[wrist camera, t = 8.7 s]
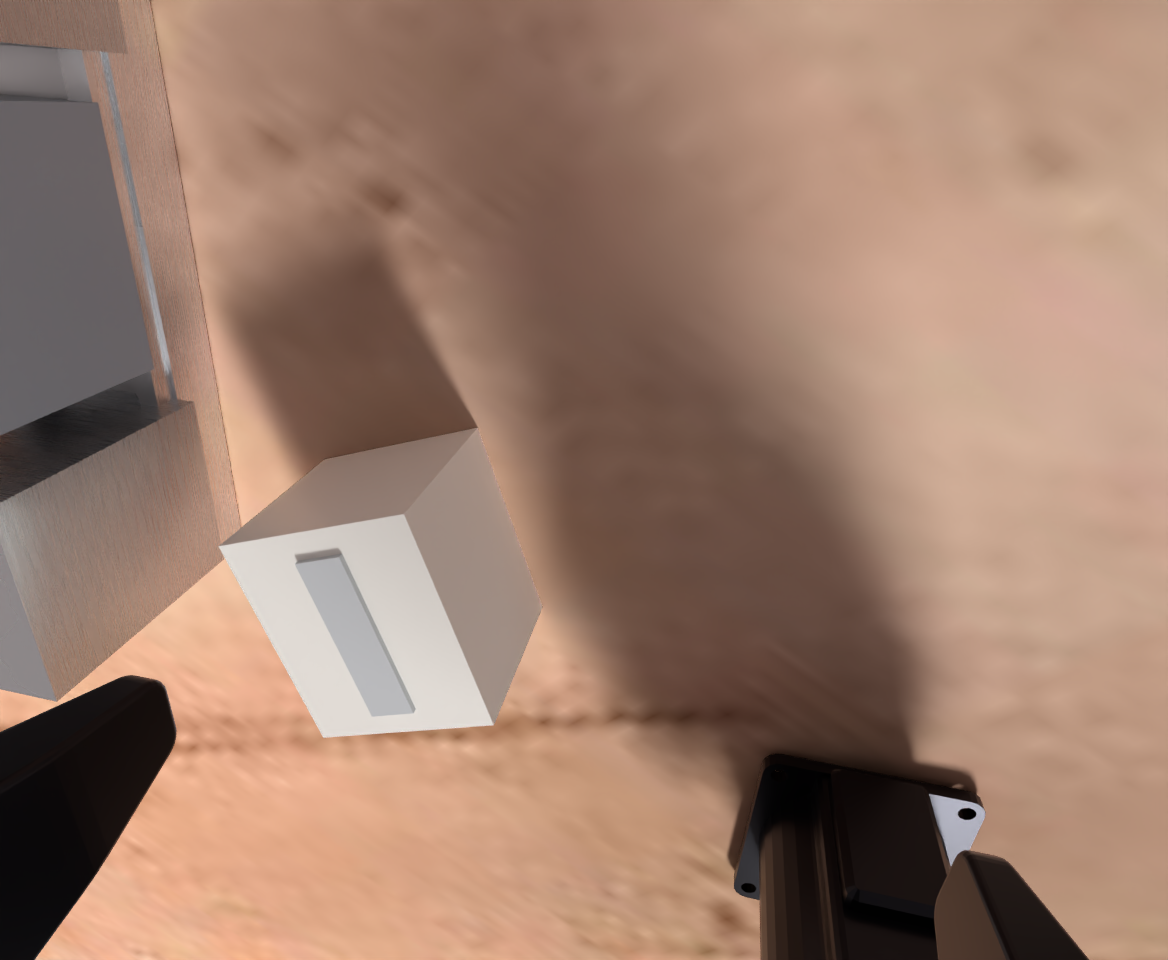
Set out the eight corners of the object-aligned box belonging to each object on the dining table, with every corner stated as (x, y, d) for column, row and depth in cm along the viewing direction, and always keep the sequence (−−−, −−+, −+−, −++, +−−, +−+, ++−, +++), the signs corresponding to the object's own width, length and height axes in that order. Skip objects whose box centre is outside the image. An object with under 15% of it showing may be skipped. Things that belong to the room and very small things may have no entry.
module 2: (543, 604, 22) (492, 729, 18) (401, 622, 24) (320, 742, 19) (479, 426, 20) (400, 517, 16) (326, 457, 22) (214, 549, 17)
